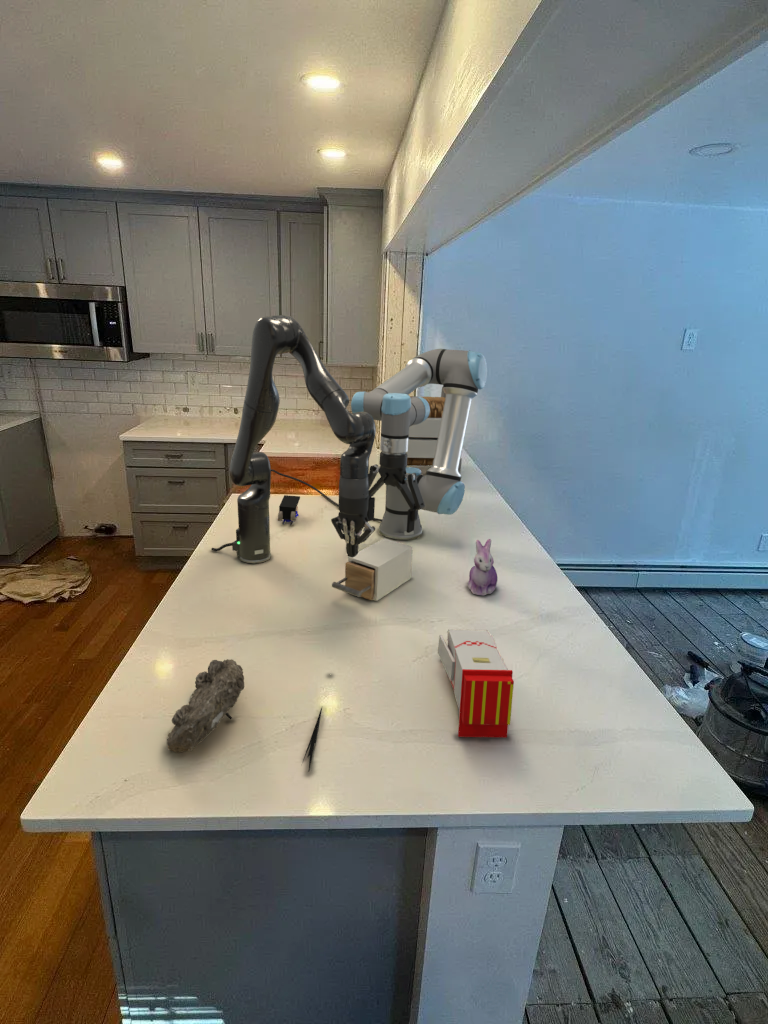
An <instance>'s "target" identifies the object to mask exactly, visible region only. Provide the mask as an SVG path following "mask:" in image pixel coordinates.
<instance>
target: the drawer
mask: <svg viewBox="0 0 768 1024" xmlns="http://www.w3.org/2000/svg"><path fill="white" fill-rule="evenodd" d="M344 564H345V565H344V566H345V571H344V573H345V574H344V578H342V579H340V580H338V581H333V582H332V583H331V587H332V588H333V589H335V590H339V591H342V592H344V593H347V594H349V595H352V596H355V597H356V598H357V597H358V598H363V599H366V600H369V601H373V600H372V599H373V594H374V592H375V569H374V568H371V567H368V566H365V565H362V564H360V563H357V562H354V563H351V562H348V561H346V562H345V563H344ZM343 583H344V584H343Z"/></svg>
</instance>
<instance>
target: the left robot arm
mask: <svg viewBox="0 0 768 1024" xmlns="http://www.w3.org/2000/svg"><path fill="white" fill-rule="evenodd" d="M251 337H252V338H251V349H250V350H251V351H250V352H251V353H250V364H249V373H248V378H247V385H246V390H245V394H244V395H245V396H244V400H243V406H242V410H241V411H242V412H241V419H240V423H239V429H238V434H237V438H236V442H235V445H234V448H233V451H232V454H231V457H230V463H229V476H230V479H231V482H232V483H233V484H234V485H235V486H237V487H246V486H249V488H248V489H246V490H245V491H244V492H242V493H240V494H239V495H238V497H237V501H236V504H237V519H238V521H237V522H238V528H236V530H235V538H236V539H235V540H234V541H232V542H229V543H225V544H224V543H223V544H222V545H221V546H220V547H217V548H216V547H211V548H210V549H211V551H212V552H219V551H220V552H221V551H222V550H223V549H225V548H227V547H231V548H232V551H233V552H236V559H239V560H240V561H241V562H243V563H247V564H261V563H264V562H268V561H269V560H270V559H271V532H270V531H271V529H270V528H271V527H270V526H271V525H270V499H271V484H272V483H271V479H272V477H271V476H272V471H271V469H272V468H271V462H270V458H269V457H268V455H267V454H266V453H265V452H263V451H255V449H256V448H257V446H258V445H259V443H260V442H262V440H263V439H264V438H265V437H266V435H268V433H269V432H270V431H271V429H272V428H273V427H274V425H275V423H276V421H277V418H278V413H279V407H280V402H281V400H280V393H279V390H278V388H277V386H276V384H275V381H274V377H273V370H274V365H275V361H276V357H277V355H283V354H284V355H285V354H290V355H291V356H293V358H294V359H295V360H296V362H298V363H299V365H300V367H301V369H302V373H303V378H304V384H305V387H306V390H307V392H308V393H309V395H310V397H311V398H312V399H313V401H314V402H315V403H316V404H317V406H318V407H319V408H320V409H321V410H322V412H323V413H324V415H325V418H326V420H327V422H328V425H329V426H330V428H331V431H332V433H333V435H334V436H335V437H336V438H337V439H338V440H339V442H342V443H343V444H345V445H349V446H348V448H347V449H346V450H345V451H343V453H341V455H340V462H339V464H340V465H339V480H338V505H339V507H338V511H339V512H338V515H337V516H335V517H333V518H331V519H330V521H331V523H332V525H333V527H334V529H335V532H336V533H337V535H338V537H339V538H340V540H344V542H345V545H346V546H345V552H346V556H347V557H352V558H353V557H355V556H356V555H357V554H358V552H359V545H361V544H362V543H365V542H366V541H367V540H368V539H369V538H370V537H371V535H372V534H373V533H374V532H375V531H376V527H375V526H372V525H371V524H370V523H369V521H368V517H367V512H368V501H369V490H370V489H369V479H368V474H369V470H370V466H369V465H370V457H371V454H372V450H373V447H374V443H375V439H376V434H377V427H376V422H375V420H374V419H373V417H372V416H371V415H370V414H369V413H367V412H356V413H352V412H350V411H349V410H348V406H349V403H350V398H349V396H348V394H347V393H346V392H345V390H344V389H343V387H341V386H340V384H339V383H338V382H337V381H336V379H335V378H334V377H333V376H332V374H330V372H329V371H328V369H327V368H326V366H325V365H324V363H323V362H322V360H321V358H320V356H319V355H318V353H317V351H316V349H315V347H314V346H313V344H312V343H311V341H310V339H309V338H308V336H307V334H306V332H305V331H304V329H303V328H302V326H301V324H300V323H299V322H298V321H297V319H296V318H295V317H293V316H291V315H288V314H277V315H276V314H275V315H268V316H267V315H266V316H263V317H260V318H259V319H257V321H256V322H255V324H254V326H253V331H252V336H251Z"/></svg>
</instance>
